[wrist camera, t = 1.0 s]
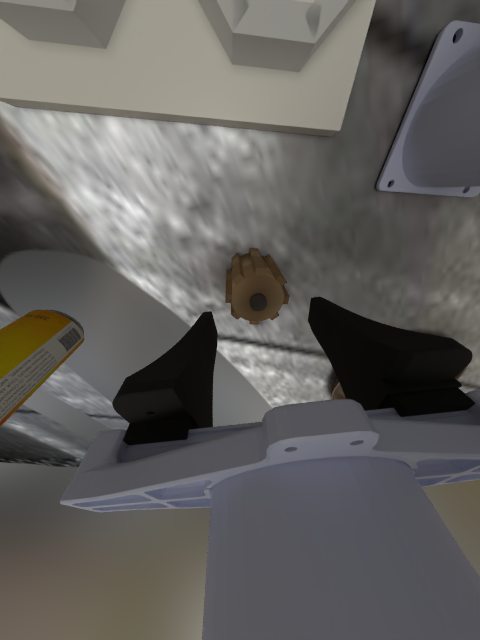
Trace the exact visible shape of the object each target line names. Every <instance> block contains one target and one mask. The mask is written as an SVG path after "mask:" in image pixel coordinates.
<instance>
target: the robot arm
mask: <svg viewBox="0 0 480 640" xmlns="http://www.w3.org/2000/svg"><path fill="white" fill-rule="evenodd" d="M454 34H456V39H455V42H454V43H453V40H452V39H453V36H454ZM389 181H391V184H390V186H389V187H388V183H389ZM376 189H377V190H378V191H388V192H402V193H415V194H429V195H442V196H456V197H475V196H477V195H478V194H479V193H480V24H478V23H471V22H465V21H458V20H454V21H452V22H450V23H449V24H448V25H446V26H445V27H444V28H443V29H442V30H441V31H440V33H439V35H438V37H437V39H436V41H435V44H434V46H433V49H432V51H431V53H430V56H429V58H428V61H427V63H426V66H425V68H424V70H423V73H422V75H421V78H420V80H419V82H418V85H417V87H416V90H415V92H414V95H413V97H412V99H411V102H410V104H409V107H408V109H407V112H406V114H405V116H404V119H403V121H402V124H401V126H400V129H399V131H398V133H397V136H396V138H395V141H394V143H393V145H392V148H391V150H390V153H389V155H388V158H387V160H386V162H385V165H384V167H383V170H382V172H381V175H380V177H379V179H378V182H377V185H376ZM464 189H465V190H464ZM463 190H464V191H463ZM308 322H309V324H310V327H311V329H312V332H313V333H314V335H315V337H316V339H317V340H318V342H319V344H320V345H321V347H322V348H323V350H324V352H325V353H326V355H327V357H328V359H329V360H330V362H331V364H332V367H333V369H334V371H335V373H336V376H337V378H338V380H339V383H340V385H341V387H342V390H343V392H344V395H345V398H346V399H335V400H325V401H316V402H307V403H298V404H289V405H283V406H279V407H275V408H273V409H271V410H269V411H268V412H266V413H265V415H264V417H263V419H262V422H256V423H247V424H237V425H228V426H218V427H213V417H212V400H213V372H214V364H215V357H216V350H217V329H216V326H215V322H214V318H213V315H212V311H210V312H203V313H202V315H201V316H200V317H199V319H198V320H197V321H196V322H195V324H194V325H193V326H192V328H191V329H190V330H189V331H188V332H187V333H186V334H185V336H184V337H183V338H182V339H181V340H180V341H179V342H178V343H177V344H176V345H174V346H173V347H172V348H171V349H170V350H169V351H167V352H166V353H165V354H163V355H162V356H161V357H160V358H158V359H157V360H155V361H154V362H152V363H151V364H149V365H148V366H146V367H145V368H143V369H141V370H139V371H138V372H136V373H135V374H132V375H131V376H129V377H127V378H126V379H125V381H124V382H123V384H122V386H121V388H120V390H119V391H118V393H117V395H116V397H115V399H114V400H113V403H112V404H113V408H114V409H115V411H116V412H117V413H118V414H119V415H121V416H122V417H123V418H124V419H125V420H126V421H128V422H129V423H130V424H129V427H128V429H127V431H126V430H123V429H116V430H107V431H100V432H98V433H97V435H96V437H95V438H94V440H93V442H92V444H91V446H90V447H89V449H88V451H87V453H86V455H85V457H84V458H83V460H82V462H81V464H80V466H79V467H78V470H77V471H76V473H75V475H74V476H73V478H72V480H71V482H70V484H69V486H68V487H67V489H66V491H65V493H64V495H63V496H62V498H61V500H60V504H63V505H68V506H72V507H77V508H82V509H86V510H91V511H95V512H110V511H124V510H143V509H170V508H171V509H172V508H201V507H203V508H204V507H205V508H206V507H210V521H209V536H208V552H207V554H208V555H207V568H206V584H205V601H204V616H203V632H202V640H480V577H479V575H478V574H477V572H476V571H475V569H474V568H473V566H472V565H471V563H470V561H469V560H468V558H467V557H466V555H465V554H464V552H463V551H462V549H461V548H460V546H459V545H458V543H457V541H456V540H455V538H454V537H453V535H452V534H451V532H450V531H449V529H448V528H447V526H446V524H445V523H444V521H443V520H442V518H441V517H440V515H439V514H438V512H437V510H436V509H435V507H434V506H433V504H432V503H431V501H430V500H429V499H428V497H427V495H426V494H425V492H424V491H423V489H422V487H428V486H435V485H442V484H449V483H455V482H463V481H471V480H478V479H480V390H475V391H470V392H468V393H466V394H465V393H464V392H462V391H461V390H460V389H459V388H458V387H461V386H462V385H461V383H460V382H458V381H457V380H456V379H455V377H456V376H457V375H458V374H459V373H460V372H461V371H462V370H463V369H464V368H465V367H467V365H468V364H469V363H470V362H471V359H472V352H471V351H470V350H469V349H467V348H466V347H464V346H463V345H461V344H460V343H458V342H457V341H455V340H454V339H452V338H446V337H440V336H434V335H428V334H422V333H418V332H413V331H408V330H404V329H400V328H396V327H392V326H389V325H385V324H382V323H379V322H376V321H373V320H370V319H367V318H365V317H362V316H360V315H357V314H355V313H353V312H351V311H348V310H346V309H344V308H342V307H340V306H338V305H336V304H334V303H332V302H330V301H328V300H326V299H324V298H322V297H314V298H311V303H310V310H309V317H308Z"/></svg>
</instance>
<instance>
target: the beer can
mask: <svg viewBox="0 0 480 640" xmlns="http://www.w3.org/2000/svg"><path fill="white" fill-rule="evenodd" d="M83 341H84V331H83V328H82V326H81V325H80V324H79V322H77V321H76V320H75V319H74V318H72V317H71V316H69V315H67V314H65V313H62V312H59V311H55V310H35V311H32V312H29V313H28V314H26V315H24V316H23V317H21V318H19V319H18V320H16V321H14V322H13V323H11V324H9V325H8V326H6V327H4V328H3V329H1V330H0V426H1V425H2V424H3V423H4V422H5V421H6V420H7V419H8V418H9V417H10V416H11V415H12V414H13V413H14V412H15V411H16V410H17V409H18V408H19V407H20V406H21V405H22V404H23V403H24V402H25V401H26V400H27V399H28V398H29V397H30V396H31V395H32V394H33V393H34V392H35V391H36V390H37V389H38V388H39V387H40V386H41V385H42V384H43V383H44V382H45V381H46V380H47V379H48V378H49V377H50V376H51V375H52V373H53V372H54V371H55V370H56V369H57V368H58V367H59V366H60V365H61V364H62V363H63V362H64V361H65V360H66V359H67V358H68V357H69V356H70V355H71V354H72V353H73V352H74V351H75V350H76V349H77V348H78V347H79V346H80V345H81V344H82V343H83Z"/></svg>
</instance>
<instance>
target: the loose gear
mask: <svg viewBox="0 0 480 640" xmlns="http://www.w3.org/2000/svg"><path fill="white" fill-rule="evenodd" d="M285 283H287V282H286V280H285V278H284V277H283V275H282V274H281V272H280V270H279V269H278V267H277V266H276V264H275V262H274V261H273V259H272V258H271V257H270V256H269V255H267V256H266V257H265V258H264V257H263V256H261V255H260V253H259V251H258V249H252V248H250V251H249V253H248V254H245V255H242V256H241V257H240V255H239V254H238V253H237V254H236V255H235V256H234V257H233V258H232V270H227V276H226V303H231V315H232V316H233V317H235V318H236V319H239V318H240V317H241V318H243V319H245V320H248V321H250V324H259V321H263V320H266V319H268V318H270V319H271V320H273V319H275V318H276V317H278V316H279V314H278V311H279V310H280V308H281V306H282V304H288V300H289V294H288V292H287V291H286V289H285V287H284V284H285Z"/></svg>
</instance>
